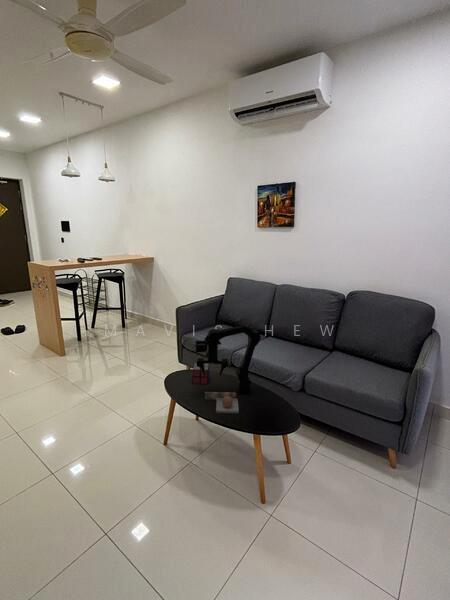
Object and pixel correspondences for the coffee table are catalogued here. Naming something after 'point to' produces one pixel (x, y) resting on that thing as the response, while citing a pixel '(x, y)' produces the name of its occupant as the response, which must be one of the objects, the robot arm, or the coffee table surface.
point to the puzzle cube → (200, 374)
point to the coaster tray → (222, 409)
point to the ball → (227, 401)
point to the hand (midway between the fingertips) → (212, 375)
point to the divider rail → (219, 395)
